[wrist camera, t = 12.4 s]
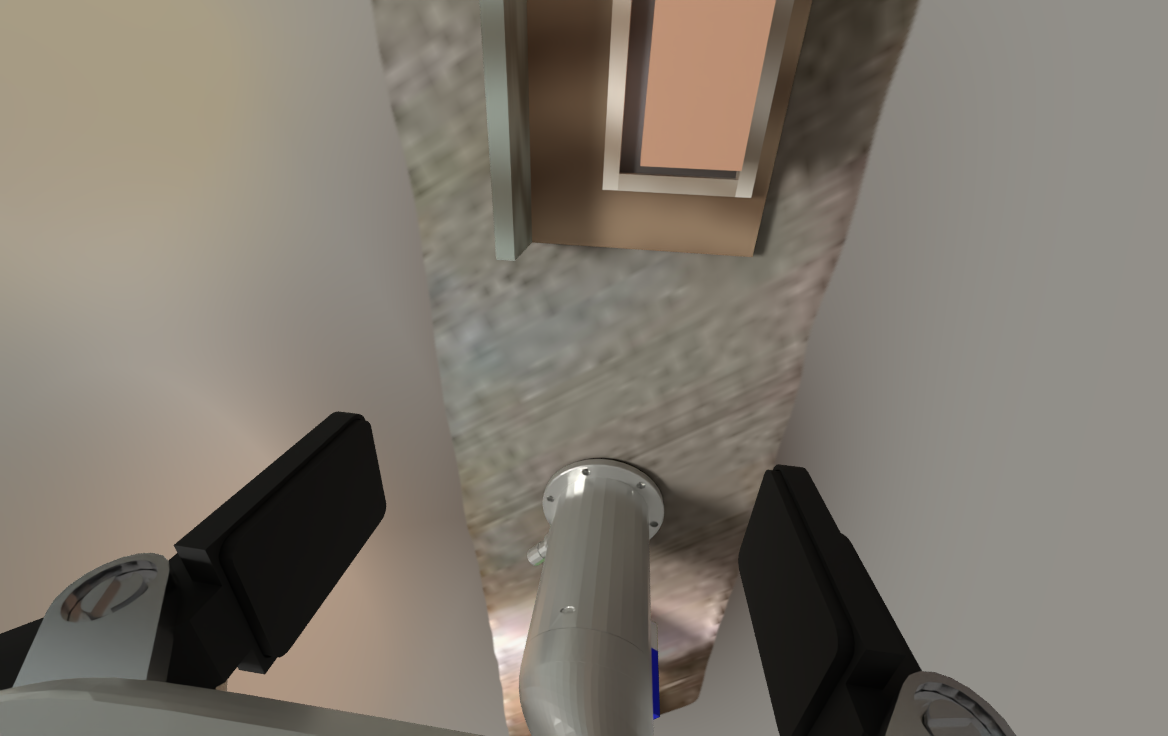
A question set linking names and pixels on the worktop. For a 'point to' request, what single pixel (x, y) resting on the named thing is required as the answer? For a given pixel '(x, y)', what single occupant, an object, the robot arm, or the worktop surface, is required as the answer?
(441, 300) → the worktop surface
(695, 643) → the worktop surface
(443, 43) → the worktop surface
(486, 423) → the worktop surface
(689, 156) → the block
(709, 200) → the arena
